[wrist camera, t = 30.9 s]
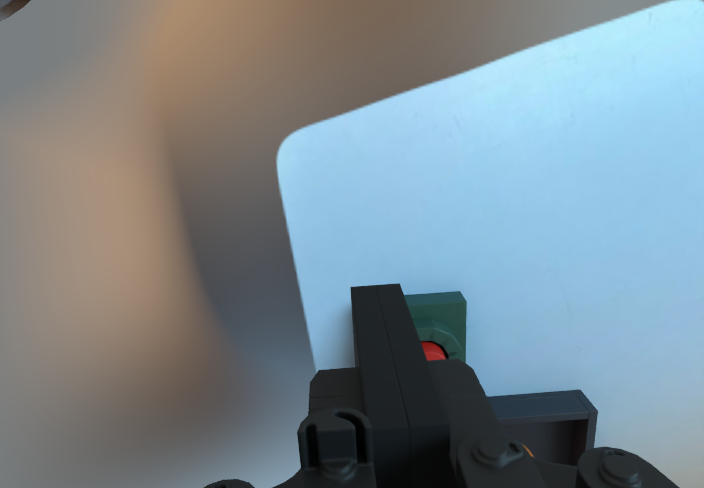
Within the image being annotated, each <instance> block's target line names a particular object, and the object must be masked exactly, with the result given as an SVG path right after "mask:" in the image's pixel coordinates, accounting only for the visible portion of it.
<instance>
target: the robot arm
mask: <svg viewBox="0 0 704 488" xmlns="http://www.w3.org/2000/svg"><path fill="white" fill-rule="evenodd" d="M351 302H352V318H353V334H354V351H355V366H356V367H355V368H342V369H329V370H319V371H318V372H317V374H316V375H315V377H314V378H313V379H312V381H311V382H310V393H309V412H308V416H307V417H306V418H305V419H304V420H303V421H302V422H301V424H300V427H299V429H298V432H297V434H298V443H299V453H300V462H301V469H300V470H299V471H298V472H297V473H296V474H295V475H294V476H293V477H292V478H290V479H289V480H287V481H286V482H284V483H282V484H280V485H277V486H275V487H273V488H679V487H678V486H677V485H675V484H674V483H673V482H672V481H671V480H669V479H668V478H667V477H666V476H665V475H663V474H662V473H661V472H660V471H659V470H657V469H656V468H655V467H654V466H652V465H651V464H650V463H648V462H647V461H645V460H644V459H642V458H641V457H639V456H637V455H635V454H633V453H630V452H627V451H625V450H622V449H617V448H610V447H599V448H592V449H590V450H588V451H586V452H584V453H582V455H581V457H580V459H579V460H578V464H577V466H571V465H565V464H558V463H552V462H548V461H543V460H539V459H537V458H534V457H532V456H530V454H529V452H528V451H527V449H526V448H525V447H524V446H523V445H522V443H521V442H519V441H518V440H516V439H515V438H513V437H511V436H510V435H507V434H506V433H505V431H504V429H503V427H502V425H501V423H500V421H499V419H498V417H497V415H496V414H495V412H494V410H493V408H492V406H491V404H490V402H489V400H488V398H487V396H486V395H485V392H484V390H483V388H482V386H481V384H480V383H479V380H478V378H477V376H476V374H475V372H474V370H473V369H472V368H471V367H470V366H468V365H467V364H466V363H464V362H463V361H462V360H461V359H459V358H455V359H442V360H429V361H427V358H426V355H425V352H424V350H423V347H422V344H421V341H420V339H419V336H418V333H417V330H416V328H415V325H414V322H413V319H412V317H411V314H410V311H409V308H408V305H407V303H406V300H405V297H404V294H403V292H402V289H401V286H400V284H386V285H372V286H358V287H351ZM204 488H255V487H253V486H252V485H251V484H250V483H248V482H245V481H241V480H238V479H233V480H232V479H231V480H221V481H218V482H215V483H212V484H209V485H207V486H206V487H204Z"/></svg>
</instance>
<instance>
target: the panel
mask: <svg viewBox="0 0 704 488" xmlns="http://www.w3.org/2000/svg"><path fill="white" fill-rule="evenodd" d="M404 297H405V300H406V303H407V305H408V308H409V311H410V314H411V317H412V319H413V322H414V325H415V328H416V330H417V333H418V336H419V339H420V341H421V342H431V343H434V344H436V345H437V346H439V347H440V348H441V350H442V351H443V353H444V355H445V358H446V359H455V358H459V359H461V360H462V361H463V362H464V363H466V304H467V302H466V300H465V299H464V297H463V295H462V294H461V292H460V291H459V292H445V293H431V294H417V295H404Z"/></svg>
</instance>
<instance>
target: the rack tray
mask: <svg viewBox="0 0 704 488" xmlns="http://www.w3.org/2000/svg"><path fill="white" fill-rule="evenodd" d="M487 398H488V400H489V402H490V404H491V406H492V408H493V410H494V412H495V414H496V415H497V417H498V419H499V421H500V423H501V425H502V427H503V429H504V431H505V433H506V434H507V435H510V436H511V437H513V438H515V439H516V440H518V441H519V442H521V443H522V444H523V445H524V446H526V447H527V448H528V449H529V451H530V452H531V453H532V455H533V456H534V457H535V458H537V459H539V460H543V461H548V462H552V463H558V464H565V465H571V466H577V464H578V460H579V459H580V457H581V455H582V453H584V452H586V451H588V450H590V449H592V448H594V440H595V432H596V423H597V414H598V411H597V409H596V408H595V407H594V406H593V404H592V403H591V402H590V401H589V400H588V398H587V397H586V396H585V395H584V394H583V392H582V391H581V390H572V391H559V392H546V393H533V394H520V395H507V396H495V397H487Z"/></svg>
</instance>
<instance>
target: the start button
mask: <svg viewBox="0 0 704 488" xmlns="http://www.w3.org/2000/svg"><path fill="white" fill-rule="evenodd" d="M421 344H422V347H423V350H424V352H425V355H426V358H427V361H429V360H442V359H446V358H445V355H444V353H443V351H442V350H441V348H440V347H439V346H437V345H436V344H434V343H431V342H421Z"/></svg>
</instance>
